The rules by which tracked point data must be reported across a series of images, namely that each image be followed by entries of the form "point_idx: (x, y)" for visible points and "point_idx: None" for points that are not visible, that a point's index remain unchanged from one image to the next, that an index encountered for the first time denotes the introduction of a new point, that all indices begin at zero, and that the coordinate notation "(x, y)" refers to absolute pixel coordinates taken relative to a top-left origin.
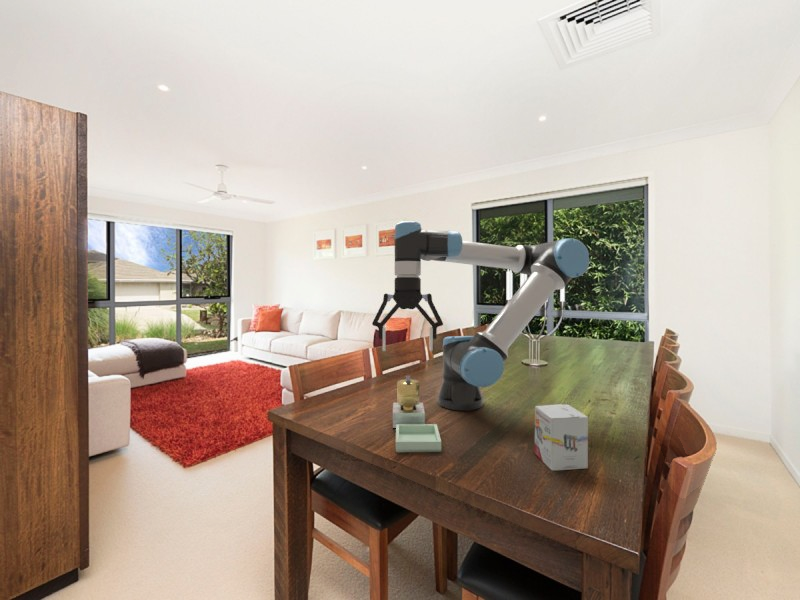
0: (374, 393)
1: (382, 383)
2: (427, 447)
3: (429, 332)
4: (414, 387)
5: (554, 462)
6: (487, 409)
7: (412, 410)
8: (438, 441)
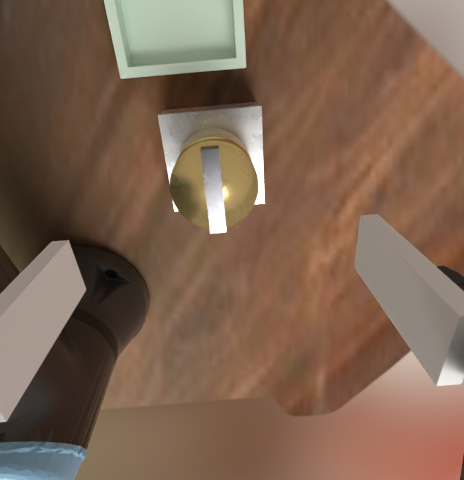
0: (315, 341)
1: (297, 401)
2: None
3: (27, 370)
4: (186, 150)
5: None
6: None
7: None
8: None
